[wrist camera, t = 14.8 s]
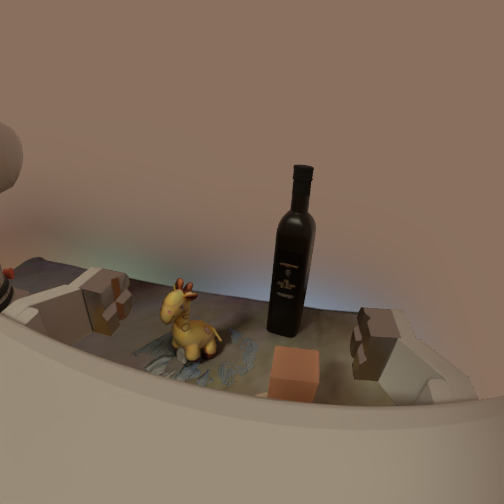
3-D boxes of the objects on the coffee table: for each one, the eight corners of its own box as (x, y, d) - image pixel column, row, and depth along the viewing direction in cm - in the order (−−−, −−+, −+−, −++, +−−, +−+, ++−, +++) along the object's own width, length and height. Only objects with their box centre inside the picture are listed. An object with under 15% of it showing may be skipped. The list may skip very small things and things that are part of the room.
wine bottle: (293, 340, 52) (319, 171, 40) (264, 332, 54) (280, 165, 42) (301, 322, 57) (324, 167, 45) (273, 315, 59) (290, 161, 46)
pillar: (261, 431, 29) (270, 377, 25) (266, 402, 33) (275, 345, 29) (300, 435, 29) (319, 382, 25) (302, 406, 33) (318, 350, 29)
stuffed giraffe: (131, 354, 45) (118, 273, 39) (207, 316, 59) (210, 243, 52) (192, 415, 37) (189, 333, 30) (270, 358, 50) (286, 279, 43)
